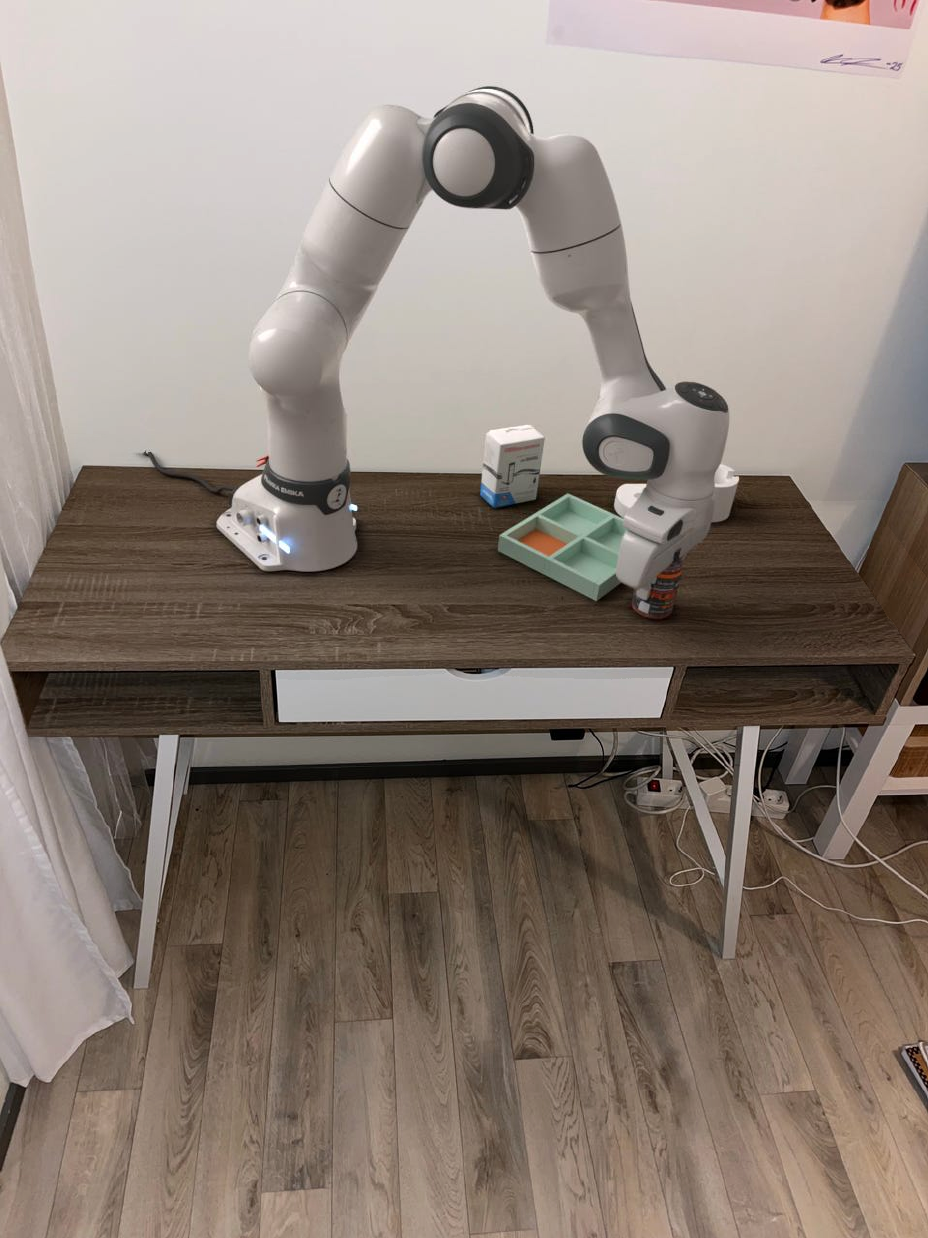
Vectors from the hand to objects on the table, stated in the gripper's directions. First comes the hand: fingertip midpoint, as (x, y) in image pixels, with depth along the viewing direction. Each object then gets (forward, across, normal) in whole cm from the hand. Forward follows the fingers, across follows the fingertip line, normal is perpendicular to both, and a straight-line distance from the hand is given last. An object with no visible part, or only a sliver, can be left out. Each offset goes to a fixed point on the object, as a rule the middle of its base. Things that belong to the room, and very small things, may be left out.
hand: (656, 585), depth 144 cm
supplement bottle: (+4, 0, 0) cm, 4 cm away
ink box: (+4, -10, -34) cm, 36 cm away
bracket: (+4, -28, -12) cm, 31 cm away
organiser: (+4, -5, -16) cm, 17 cm away
